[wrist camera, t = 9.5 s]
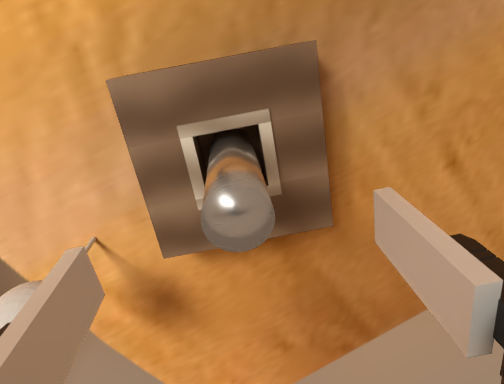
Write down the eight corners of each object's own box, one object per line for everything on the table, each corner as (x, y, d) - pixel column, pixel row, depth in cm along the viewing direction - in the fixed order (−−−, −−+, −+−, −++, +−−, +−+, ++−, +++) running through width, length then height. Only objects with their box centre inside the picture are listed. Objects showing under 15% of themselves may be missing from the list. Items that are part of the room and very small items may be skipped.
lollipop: (115, 208, 35) (42, 312, 21) (131, 257, 37) (75, 380, 23) (54, 218, 35) (-59, 328, 21) (74, 266, 37) (-17, 395, 23)
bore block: (123, 76, 30) (104, 80, 25) (301, 42, 30) (317, 40, 25) (171, 232, 36) (163, 260, 31) (319, 204, 36) (334, 227, 31)
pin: (206, 132, 31) (192, 193, 18) (248, 124, 31) (269, 178, 18) (215, 172, 33) (209, 258, 19) (256, 164, 33) (279, 244, 19)
